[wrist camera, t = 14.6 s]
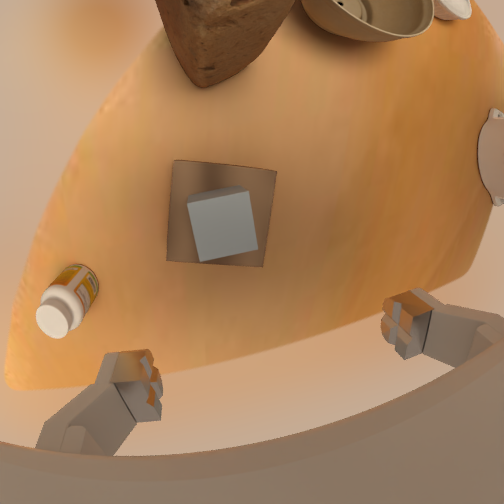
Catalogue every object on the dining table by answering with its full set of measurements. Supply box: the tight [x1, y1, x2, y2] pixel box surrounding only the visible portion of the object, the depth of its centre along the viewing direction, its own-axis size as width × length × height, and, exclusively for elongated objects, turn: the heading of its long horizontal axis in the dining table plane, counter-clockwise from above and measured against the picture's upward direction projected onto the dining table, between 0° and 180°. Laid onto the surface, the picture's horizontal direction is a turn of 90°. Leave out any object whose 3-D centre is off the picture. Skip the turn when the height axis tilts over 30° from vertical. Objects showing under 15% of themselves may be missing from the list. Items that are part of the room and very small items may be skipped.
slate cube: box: [187, 185, 258, 262], centre depth 26 cm, size 5×5×5 cm
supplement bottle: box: [36, 264, 98, 338], centre depth 28 cm, size 5×5×10 cm
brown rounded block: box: [155, 0, 296, 87], centre depth 17 cm, size 11×8×20 cm
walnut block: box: [166, 160, 277, 267], centre depth 31 cm, size 10×10×5 cm
